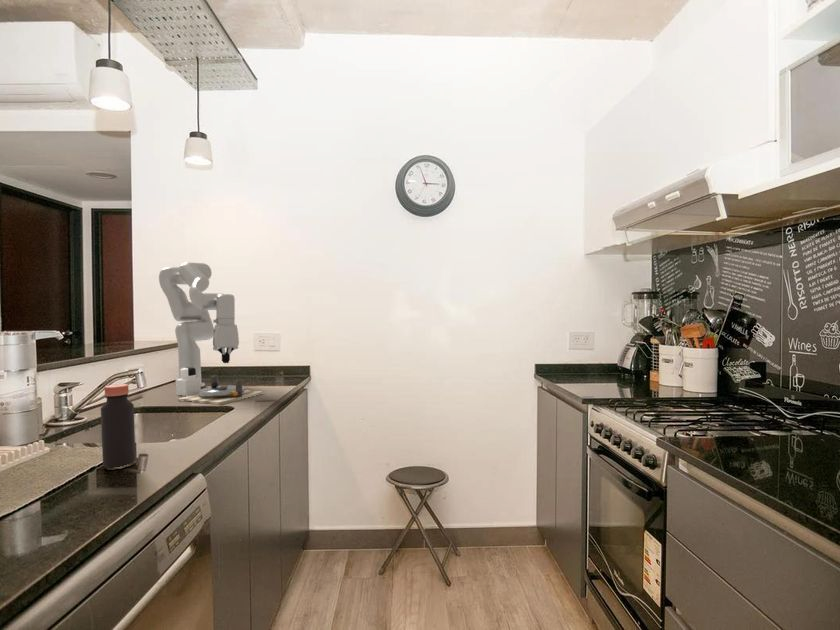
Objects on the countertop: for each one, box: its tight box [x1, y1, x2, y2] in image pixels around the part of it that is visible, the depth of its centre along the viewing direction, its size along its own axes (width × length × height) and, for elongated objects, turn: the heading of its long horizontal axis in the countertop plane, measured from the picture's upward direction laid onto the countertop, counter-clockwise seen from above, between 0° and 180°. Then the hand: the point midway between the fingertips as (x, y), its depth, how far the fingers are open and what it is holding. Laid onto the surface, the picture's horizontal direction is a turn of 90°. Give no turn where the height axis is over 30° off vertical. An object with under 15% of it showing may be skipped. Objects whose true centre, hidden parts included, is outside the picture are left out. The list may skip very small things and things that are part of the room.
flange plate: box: [199, 375, 245, 397], centre depth 200 cm, size 18×20×6 cm
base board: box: [177, 379, 265, 406], centre depth 201 cm, size 24×24×8 cm
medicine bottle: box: [175, 367, 202, 397], centre depth 208 cm, size 7×7×12 cm
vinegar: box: [100, 383, 137, 468], centre depth 116 cm, size 7×7×20 cm
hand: (225, 362), depth 210 cm, fingers closed
